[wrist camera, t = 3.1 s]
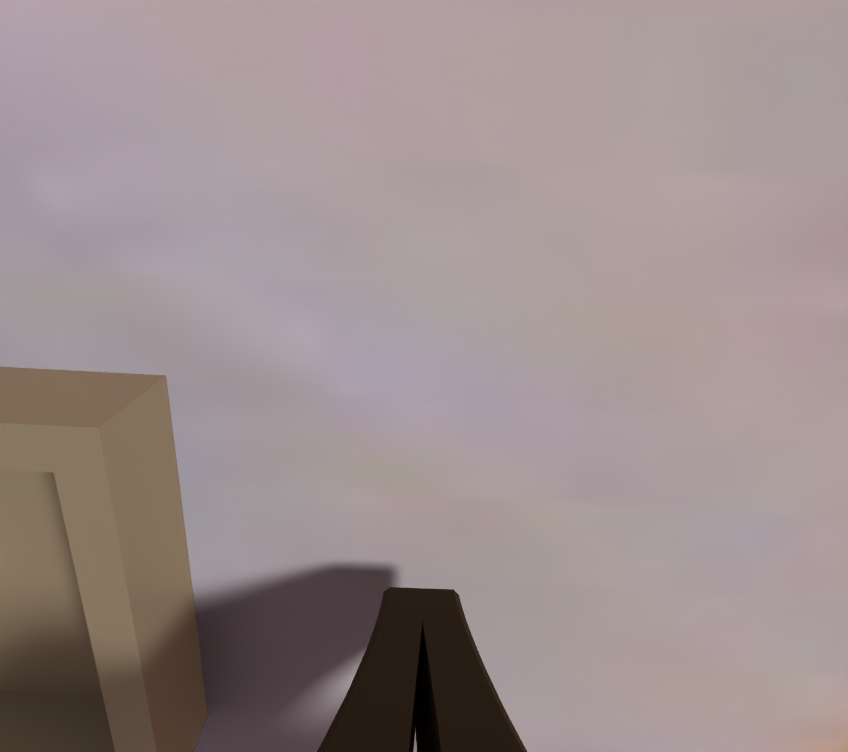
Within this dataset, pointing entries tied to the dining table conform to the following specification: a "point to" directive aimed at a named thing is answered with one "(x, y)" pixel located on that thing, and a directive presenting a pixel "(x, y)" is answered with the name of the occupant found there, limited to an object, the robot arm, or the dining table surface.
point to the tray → (94, 568)
